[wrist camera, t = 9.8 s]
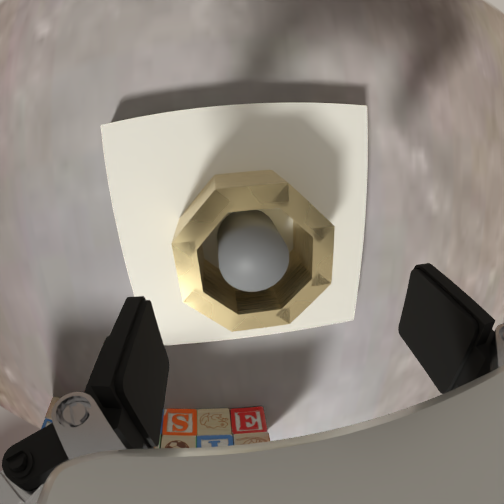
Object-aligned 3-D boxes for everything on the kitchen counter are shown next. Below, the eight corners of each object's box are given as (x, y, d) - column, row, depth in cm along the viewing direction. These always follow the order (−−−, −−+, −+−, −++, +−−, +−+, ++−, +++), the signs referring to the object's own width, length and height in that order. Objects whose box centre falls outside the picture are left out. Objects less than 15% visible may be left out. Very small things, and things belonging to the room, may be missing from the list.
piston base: (354, 106, 15) (397, 105, 11) (345, 308, 21) (371, 347, 17) (109, 124, 14) (76, 126, 10) (153, 332, 20) (144, 378, 16)
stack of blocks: (264, 403, 25) (290, 523, 14) (260, 435, 27) (281, 536, 16) (51, 395, 22) (20, 495, 11) (73, 428, 25) (54, 517, 14)
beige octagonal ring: (310, 167, 15) (335, 180, 12) (309, 283, 18) (328, 317, 15) (174, 179, 14) (163, 195, 11) (193, 298, 17) (190, 336, 14)
